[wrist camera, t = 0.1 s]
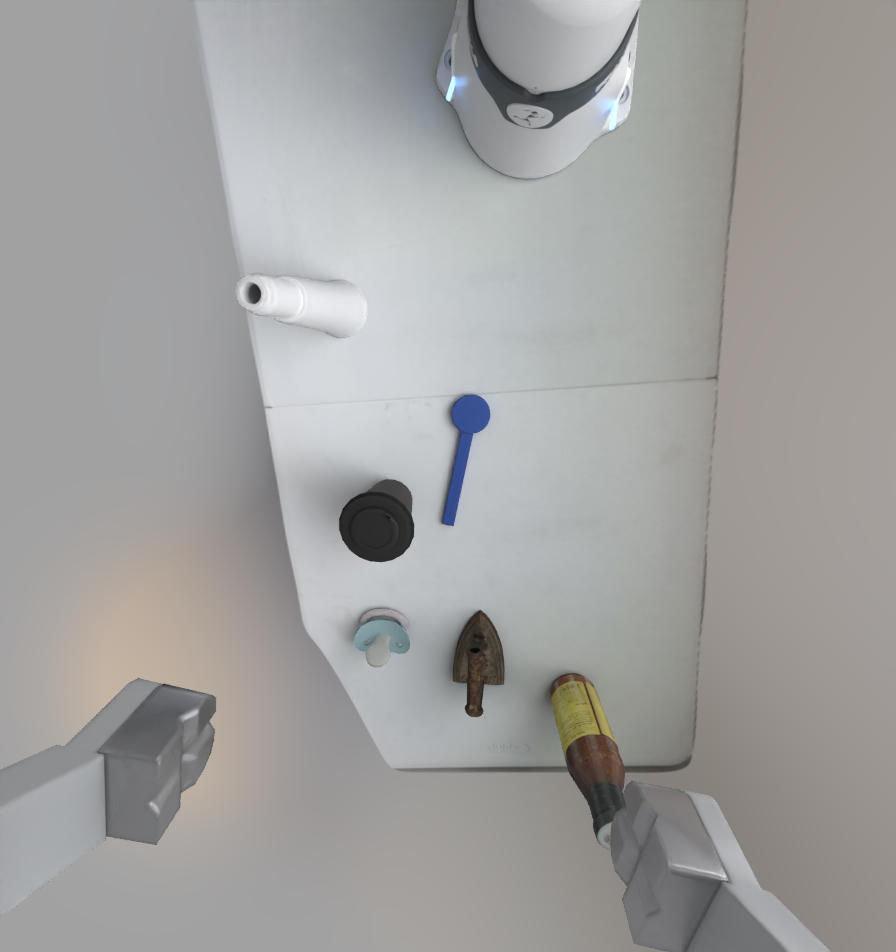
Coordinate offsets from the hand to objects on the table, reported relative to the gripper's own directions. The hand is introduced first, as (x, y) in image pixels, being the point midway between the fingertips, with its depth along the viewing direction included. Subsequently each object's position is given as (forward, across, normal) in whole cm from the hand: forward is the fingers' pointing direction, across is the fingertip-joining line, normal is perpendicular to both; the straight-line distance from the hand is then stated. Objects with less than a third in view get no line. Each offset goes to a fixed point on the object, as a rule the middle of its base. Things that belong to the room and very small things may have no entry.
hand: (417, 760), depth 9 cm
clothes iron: (+48, -8, +31) cm, 58 cm away
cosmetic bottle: (+48, +16, -8) cm, 51 cm away
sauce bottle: (+48, -22, +35) cm, 64 cm away
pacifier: (+48, +5, +31) cm, 58 cm away
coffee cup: (+48, +7, +13) cm, 50 cm away
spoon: (+48, -1, +7) cm, 48 cm away
